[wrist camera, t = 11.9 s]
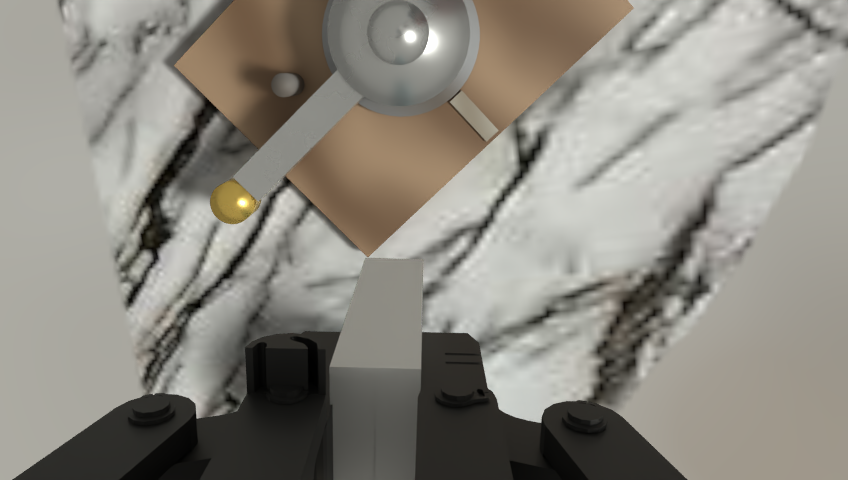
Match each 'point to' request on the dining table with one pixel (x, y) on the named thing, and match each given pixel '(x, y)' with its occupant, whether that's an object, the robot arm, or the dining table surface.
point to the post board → (382, 124)
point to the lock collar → (357, 84)
